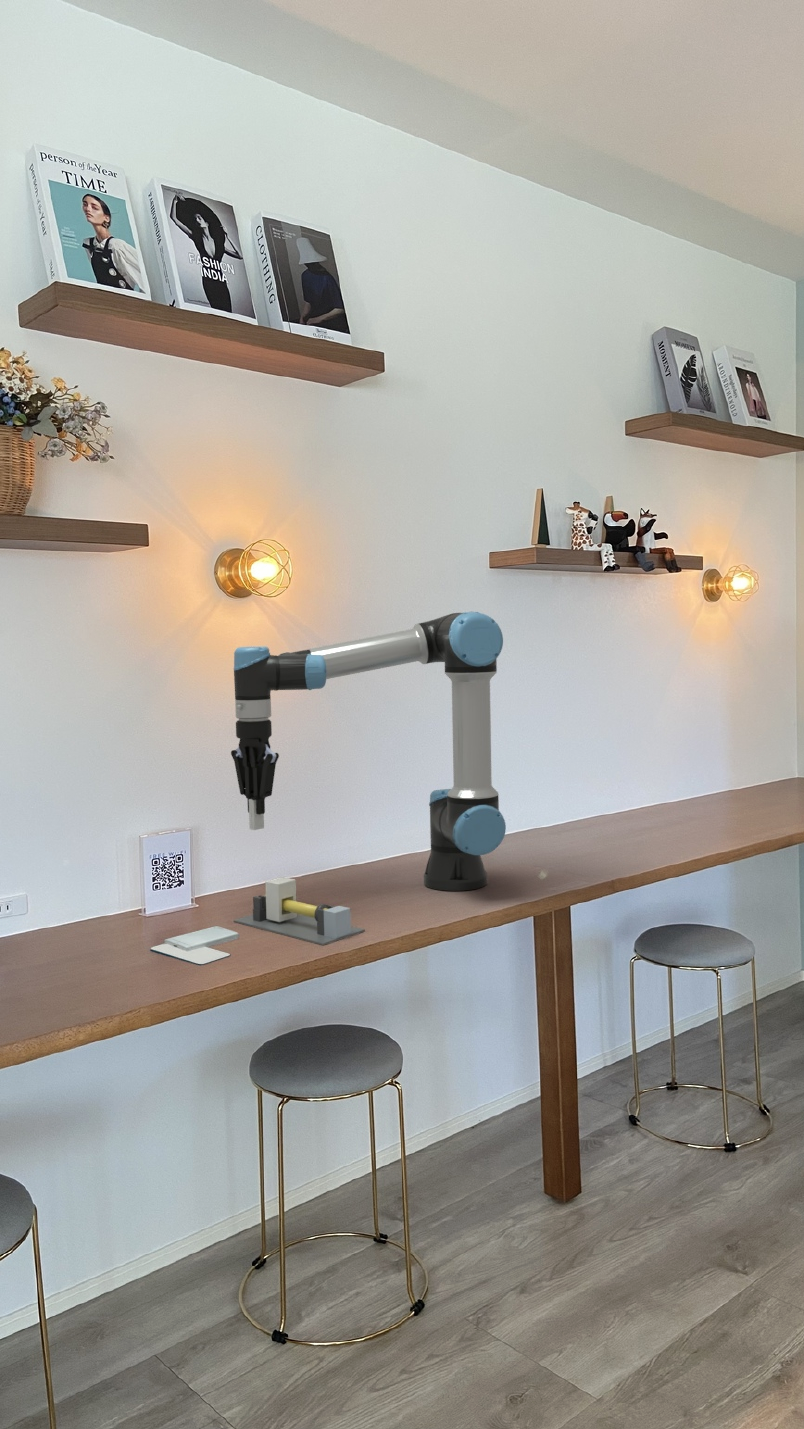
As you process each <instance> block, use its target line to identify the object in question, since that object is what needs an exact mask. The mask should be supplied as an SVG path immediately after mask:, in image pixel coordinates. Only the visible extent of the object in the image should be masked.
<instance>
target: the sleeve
mask: <svg viewBox="0 0 804 1429" xmlns="http://www.w3.org/2000/svg"><path fill="white" fill-rule="evenodd" d="M265 895H266V919H269V920H273V921H277V922H281V921H284V920H288V919H291V918H294V917H297V914H296V913H292V912H288V911H284V910H282V899H288V900H292V901H297V880H296V879H294V878H289V877H285V876H282V877H278V878H275V879H271V880H267V881H265Z"/></svg>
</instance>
